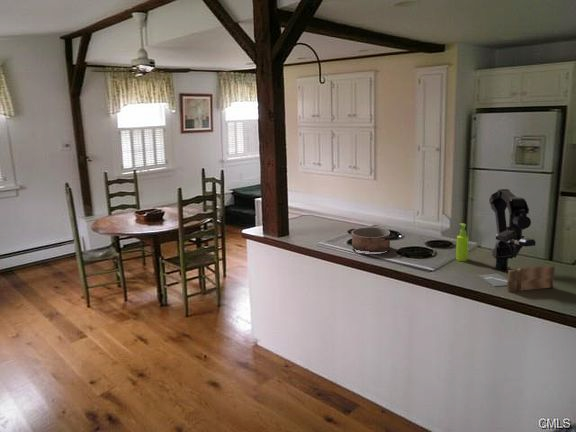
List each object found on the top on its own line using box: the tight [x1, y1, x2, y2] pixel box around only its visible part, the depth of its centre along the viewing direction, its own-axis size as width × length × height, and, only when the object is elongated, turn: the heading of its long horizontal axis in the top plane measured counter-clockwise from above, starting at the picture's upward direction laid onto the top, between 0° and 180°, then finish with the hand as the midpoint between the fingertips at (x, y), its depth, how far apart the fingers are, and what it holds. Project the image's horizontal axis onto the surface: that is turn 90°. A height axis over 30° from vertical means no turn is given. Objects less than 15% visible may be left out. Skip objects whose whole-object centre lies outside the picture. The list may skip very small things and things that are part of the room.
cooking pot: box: [347, 226, 396, 252], centre depth 272 cm, size 30×22×11 cm
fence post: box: [506, 267, 523, 293], centre depth 205 cm, size 6×2×10 cm, turn 96°
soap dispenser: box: [455, 222, 470, 262], centre depth 247 cm, size 6×7×20 cm
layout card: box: [478, 273, 508, 288], centre depth 219 cm, size 14×10×1 cm
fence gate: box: [521, 264, 556, 291], centre depth 206 cm, size 15×2×10 cm, turn 96°
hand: (514, 257), depth 215 cm, fingers closed
